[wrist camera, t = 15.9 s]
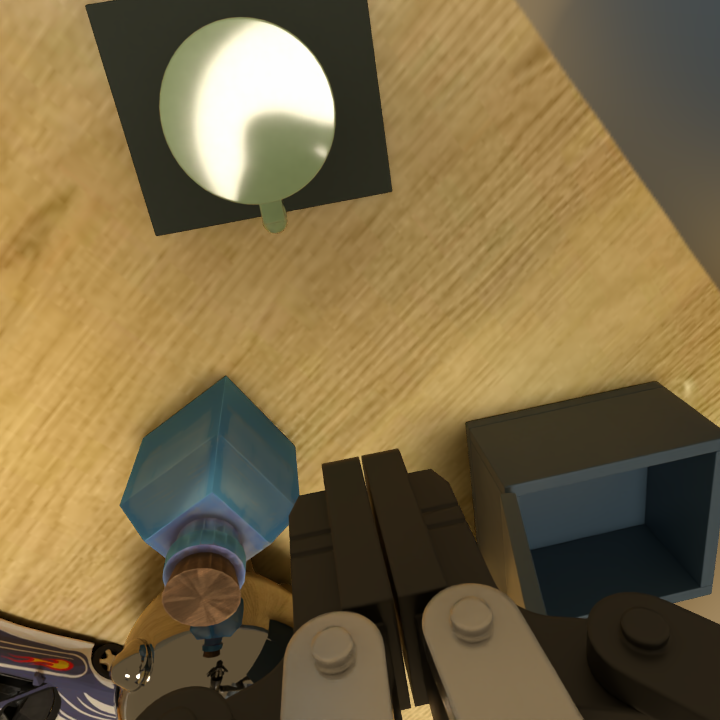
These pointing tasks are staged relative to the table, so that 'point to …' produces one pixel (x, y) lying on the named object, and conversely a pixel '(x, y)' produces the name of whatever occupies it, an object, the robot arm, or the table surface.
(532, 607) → the lid
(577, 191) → the table surface
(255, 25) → the pale green cylinder
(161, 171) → the mat
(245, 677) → the piggy bank
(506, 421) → the box
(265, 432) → the perfume bottle
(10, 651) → the toy car
